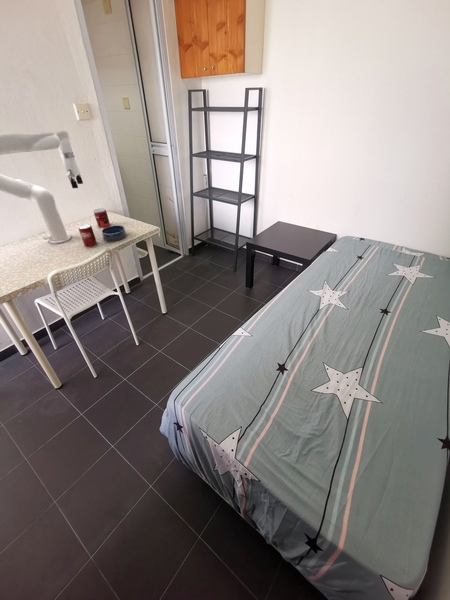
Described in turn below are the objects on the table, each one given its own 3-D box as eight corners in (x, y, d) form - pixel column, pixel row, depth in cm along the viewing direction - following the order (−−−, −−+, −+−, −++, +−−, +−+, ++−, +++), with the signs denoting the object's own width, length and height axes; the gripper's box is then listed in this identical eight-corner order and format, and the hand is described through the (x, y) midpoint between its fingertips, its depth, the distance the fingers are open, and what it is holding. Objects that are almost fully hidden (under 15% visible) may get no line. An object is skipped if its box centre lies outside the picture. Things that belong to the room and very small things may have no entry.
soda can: (93, 248, 169) (86, 229, 162) (82, 247, 170) (75, 228, 163) (99, 242, 175) (93, 224, 167) (89, 242, 176) (82, 223, 169)
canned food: (98, 224, 199) (93, 209, 193) (110, 222, 201) (105, 207, 194) (97, 228, 193) (92, 212, 187) (110, 226, 195) (105, 211, 189)
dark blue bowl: (104, 243, 174) (102, 236, 171) (102, 235, 184) (100, 228, 181) (128, 238, 178) (126, 231, 175) (124, 231, 188) (122, 223, 185)
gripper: (66, 153, 173) (76, 182, 183) (55, 158, 159) (67, 190, 169) (79, 152, 173) (88, 181, 183) (69, 158, 159) (79, 189, 169)
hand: (78, 185), depth 176 cm, fingers open, 9 cm apart
